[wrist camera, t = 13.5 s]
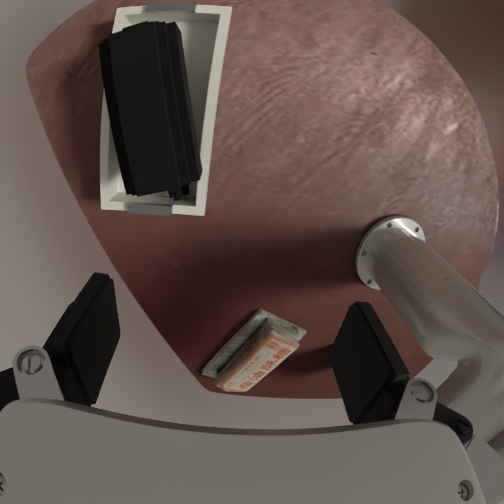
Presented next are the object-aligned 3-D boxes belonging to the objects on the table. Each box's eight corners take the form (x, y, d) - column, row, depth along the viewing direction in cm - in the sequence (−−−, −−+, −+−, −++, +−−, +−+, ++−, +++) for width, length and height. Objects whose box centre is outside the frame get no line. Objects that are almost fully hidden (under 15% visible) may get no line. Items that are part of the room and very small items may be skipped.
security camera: (153, 197, 33) (130, 232, 24) (126, 50, 24) (91, 33, 15) (209, 187, 33) (205, 219, 25) (185, 35, 24) (171, 8, 16)
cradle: (230, 18, 25) (232, 5, 20) (206, 202, 35) (203, 218, 31) (129, 18, 23) (115, 6, 18) (113, 196, 33) (99, 211, 29)
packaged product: (262, 326, 40) (312, 347, 43) (258, 304, 44) (305, 327, 48) (200, 388, 46) (247, 402, 50) (201, 367, 50) (245, 383, 54)
